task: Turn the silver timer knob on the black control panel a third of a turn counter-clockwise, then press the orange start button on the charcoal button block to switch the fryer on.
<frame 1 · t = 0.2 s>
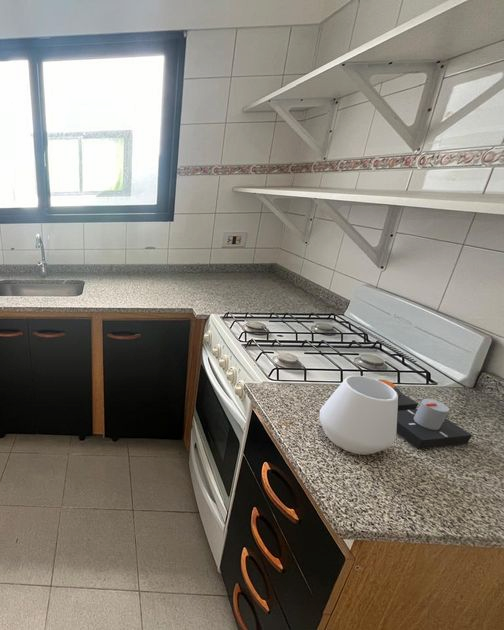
start button: (384, 386, 86), point 4 cm above the counter, slide at 0.1 cm
timer panel: (421, 431, 78), on the counter
cup: (349, 439, 76), on the counter
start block: (378, 400, 88), on the counter
timer knob: (431, 413, 76), point 5 cm above the counter, hinge at 0.0°
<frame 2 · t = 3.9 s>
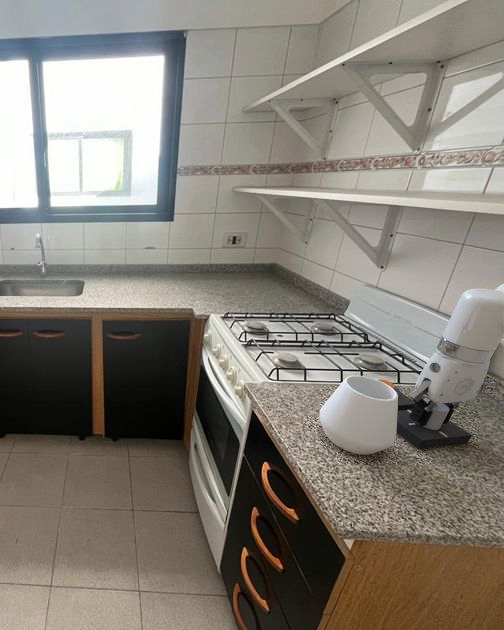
hand: (427, 420, 77), 3 cm above the counter, tool pointing down, fingers closed on timer knob, 4 cm apart
timer knob: (431, 413, 76), point 5 cm above the counter, hinge at 0.1°, touching gripper
everything else where it was.
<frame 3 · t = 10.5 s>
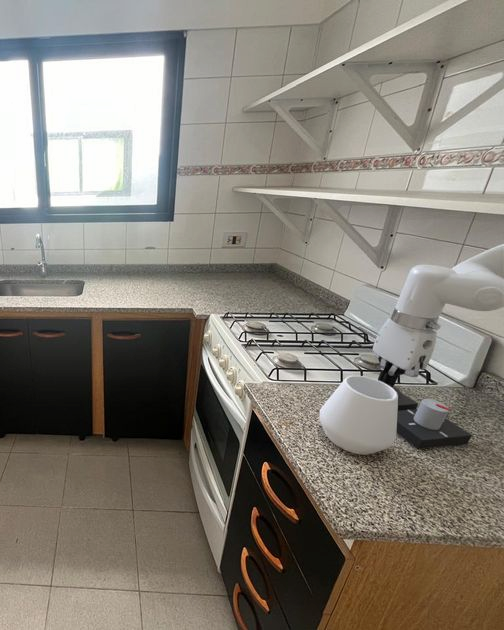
hand: (384, 385, 86), 5 cm above the counter, tool pointing down, fingers closed
start button: (383, 388, 86), point 4 cm above the counter, slide at -0.5 cm, touching gripper
timer knob: (431, 413, 76), point 5 cm above the counter, hinge at 119.1°
everything else where it was.
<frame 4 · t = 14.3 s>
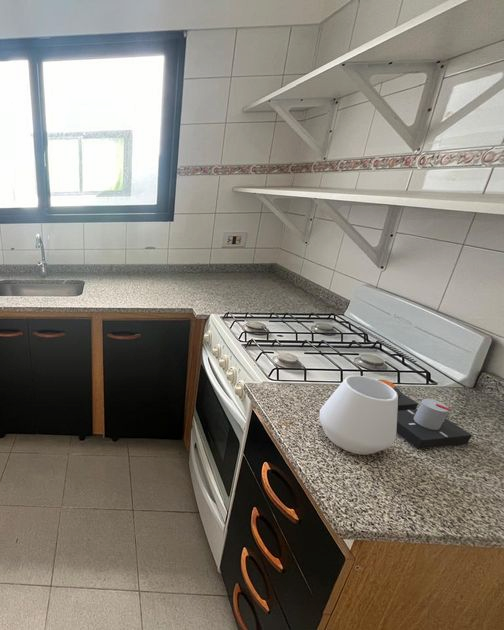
start button: (384, 386, 86), point 4 cm above the counter, slide at 0.1 cm
everything else where it was.
at the end: timer knob at +119° (first picture: +0°); start button pushed in 1.1 cm at the most during the clip, back to where it started at the end; start button slide at 0.1 cm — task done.
